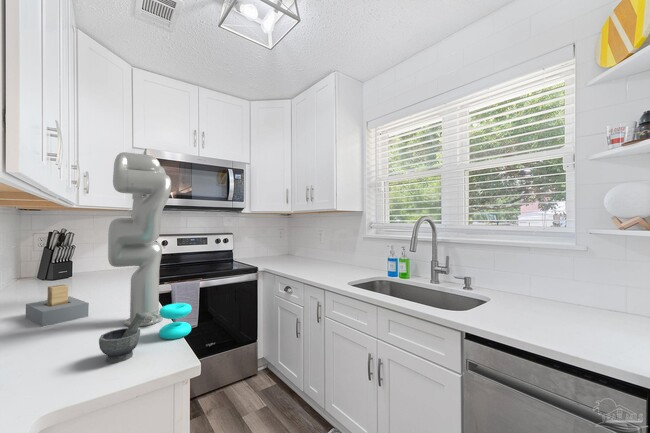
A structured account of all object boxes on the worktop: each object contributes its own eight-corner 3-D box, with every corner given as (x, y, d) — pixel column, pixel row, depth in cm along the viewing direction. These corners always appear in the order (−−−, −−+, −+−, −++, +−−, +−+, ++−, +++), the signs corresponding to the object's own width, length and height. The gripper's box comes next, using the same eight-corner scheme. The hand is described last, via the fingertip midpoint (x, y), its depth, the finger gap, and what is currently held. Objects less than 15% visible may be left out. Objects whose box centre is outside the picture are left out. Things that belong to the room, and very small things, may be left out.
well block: (88, 316, 119) (88, 302, 120) (42, 326, 107) (42, 311, 108) (69, 308, 130) (69, 296, 130) (25, 317, 118) (25, 303, 118)
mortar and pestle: (101, 369, 77) (102, 324, 77) (95, 358, 83) (96, 316, 83) (149, 356, 85) (150, 314, 85) (141, 346, 91) (141, 308, 91)
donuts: (152, 307, 98) (179, 300, 107) (152, 337, 98) (178, 327, 107) (172, 312, 94) (197, 304, 103) (171, 342, 94) (197, 332, 103)
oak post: (67, 314, 119) (68, 285, 120) (51, 318, 115) (52, 288, 115) (62, 312, 122) (63, 284, 122) (47, 316, 118) (47, 286, 118)
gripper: (159, 196, 138) (159, 232, 138) (140, 197, 147) (140, 231, 147) (143, 195, 132) (142, 232, 131) (124, 196, 141) (123, 231, 140)
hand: (141, 231), depth 139 cm, fingers open, 9 cm apart
